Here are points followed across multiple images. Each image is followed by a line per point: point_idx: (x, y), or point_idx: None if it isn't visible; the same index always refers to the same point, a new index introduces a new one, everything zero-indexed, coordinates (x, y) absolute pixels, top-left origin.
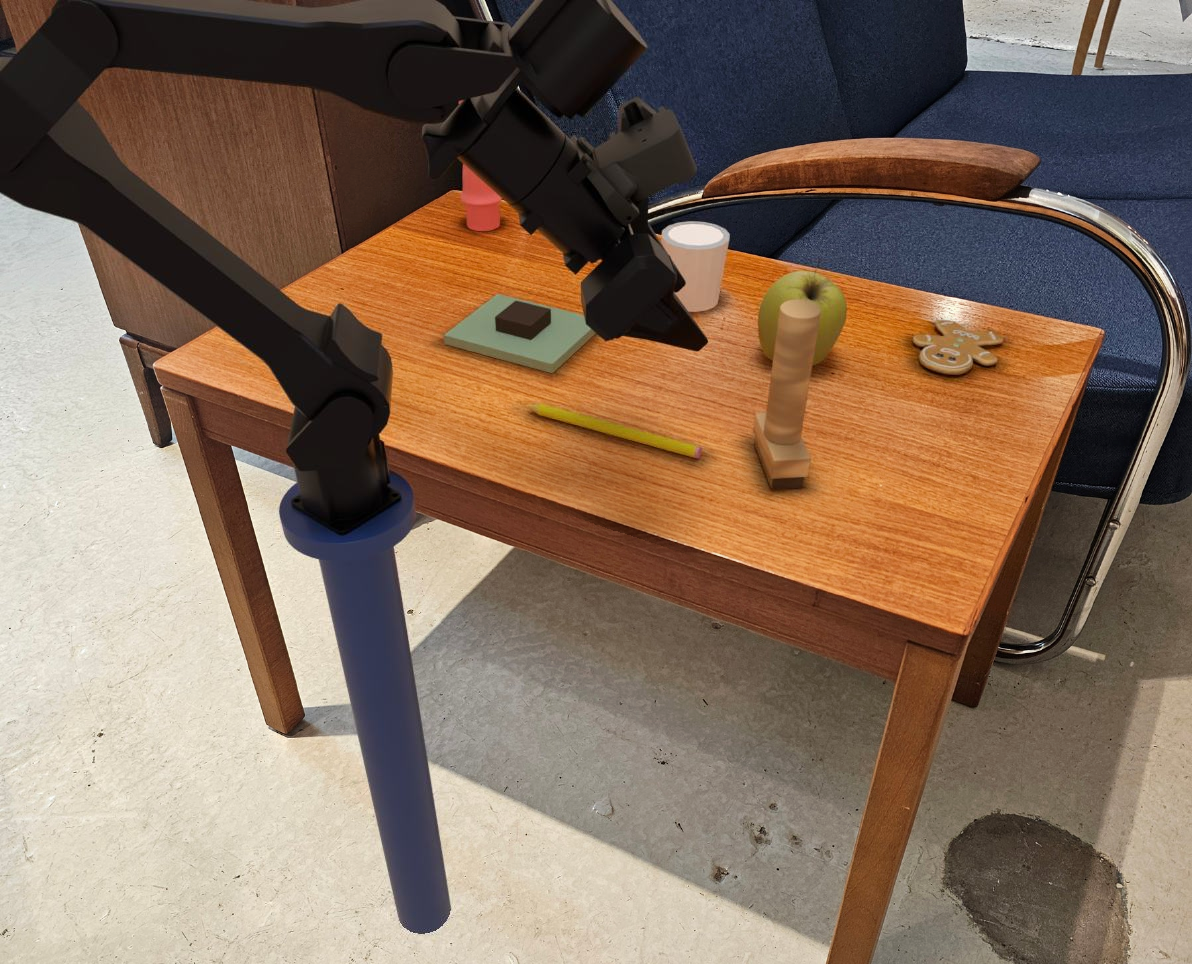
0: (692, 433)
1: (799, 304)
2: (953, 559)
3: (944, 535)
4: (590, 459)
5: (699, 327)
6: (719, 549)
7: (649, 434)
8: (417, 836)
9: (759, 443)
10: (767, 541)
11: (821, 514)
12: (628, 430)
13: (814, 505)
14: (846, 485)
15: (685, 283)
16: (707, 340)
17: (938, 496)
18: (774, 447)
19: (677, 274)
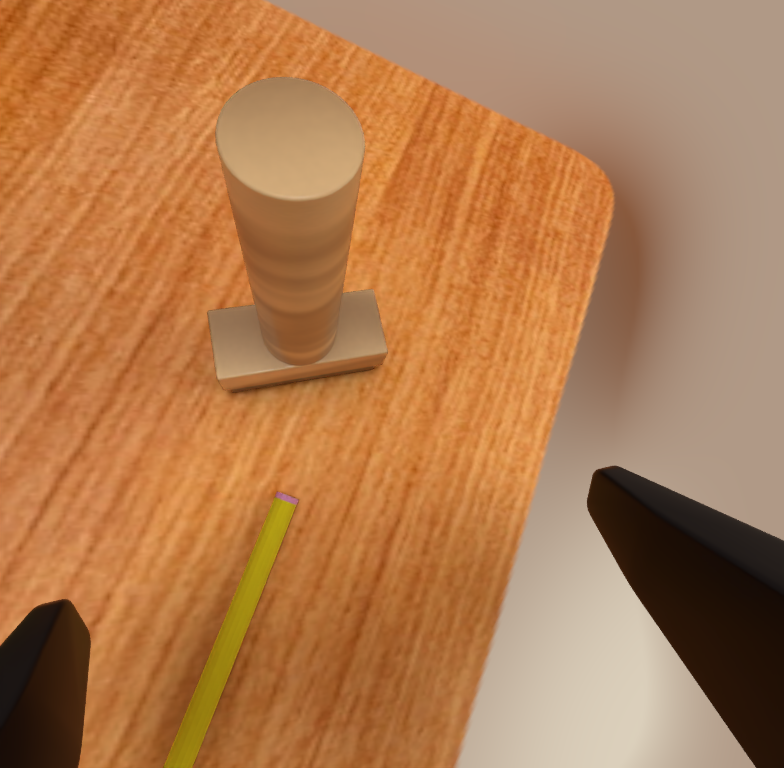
0: (195, 513)
1: (258, 134)
2: (497, 152)
3: (449, 150)
4: (307, 729)
5: (654, 501)
6: (537, 453)
7: (242, 608)
8: None
9: (282, 379)
10: (505, 381)
11: (427, 299)
12: (225, 660)
13: (405, 306)
14: None
15: (67, 600)
16: (620, 467)
17: None
18: (344, 348)
19: (47, 664)
